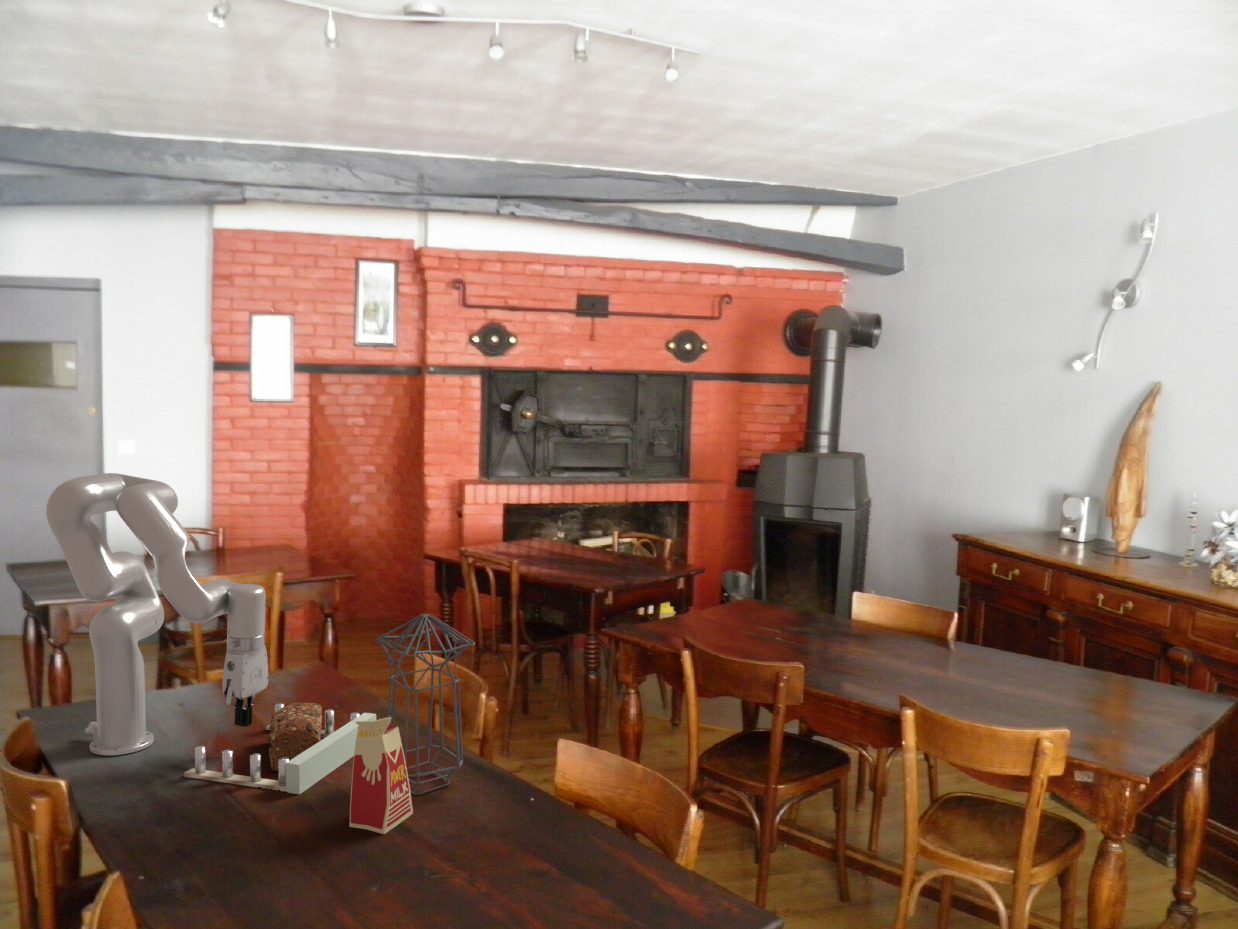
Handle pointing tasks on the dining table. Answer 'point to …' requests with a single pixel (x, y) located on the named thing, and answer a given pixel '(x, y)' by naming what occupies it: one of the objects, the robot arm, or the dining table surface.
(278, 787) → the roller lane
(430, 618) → the geometric lantern
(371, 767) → the milk carton
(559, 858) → the dining table surface
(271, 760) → the bread
